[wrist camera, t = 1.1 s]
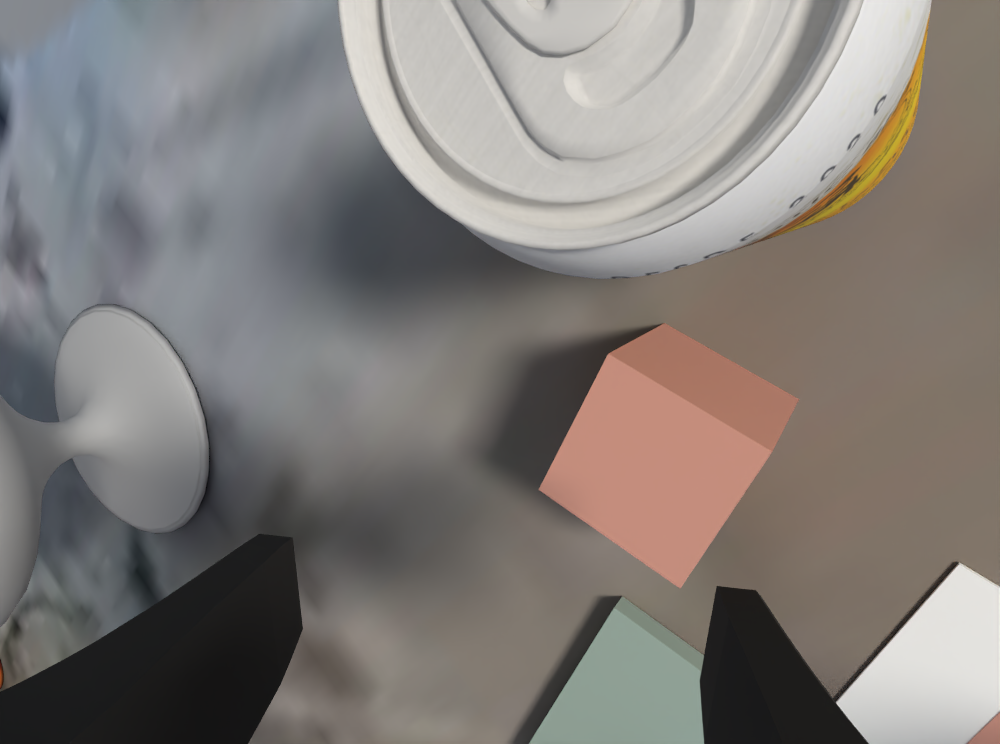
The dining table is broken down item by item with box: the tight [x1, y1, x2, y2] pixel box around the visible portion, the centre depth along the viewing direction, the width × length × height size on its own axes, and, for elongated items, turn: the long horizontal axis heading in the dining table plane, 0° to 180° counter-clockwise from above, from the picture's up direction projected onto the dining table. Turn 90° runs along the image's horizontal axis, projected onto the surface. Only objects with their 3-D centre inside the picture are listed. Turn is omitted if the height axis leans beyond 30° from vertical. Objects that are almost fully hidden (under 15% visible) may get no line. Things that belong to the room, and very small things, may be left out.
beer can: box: [338, 0, 931, 279], centre depth 13 cm, size 6×6×15 cm
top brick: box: [539, 323, 799, 588], centre depth 20 cm, size 4×4×5 cm
